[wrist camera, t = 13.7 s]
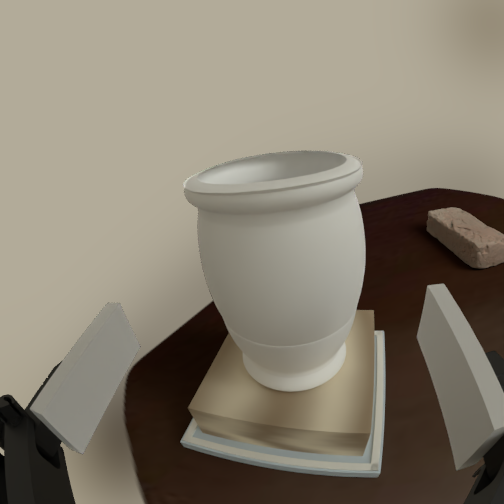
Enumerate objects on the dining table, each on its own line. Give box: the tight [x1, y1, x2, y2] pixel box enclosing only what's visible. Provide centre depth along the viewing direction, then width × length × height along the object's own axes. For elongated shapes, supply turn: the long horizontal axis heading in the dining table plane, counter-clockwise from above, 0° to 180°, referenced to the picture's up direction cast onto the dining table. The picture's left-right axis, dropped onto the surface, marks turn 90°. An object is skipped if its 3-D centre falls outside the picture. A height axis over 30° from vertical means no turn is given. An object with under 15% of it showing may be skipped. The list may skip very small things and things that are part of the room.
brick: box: [427, 208, 504, 269], centre depth 41 cm, size 16×8×5 cm, turn 1°
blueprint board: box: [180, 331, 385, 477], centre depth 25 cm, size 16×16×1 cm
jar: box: [183, 151, 365, 392], centre depth 20 cm, size 11×10×15 cm
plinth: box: [188, 310, 375, 456], centre depth 24 cm, size 13×13×4 cm
